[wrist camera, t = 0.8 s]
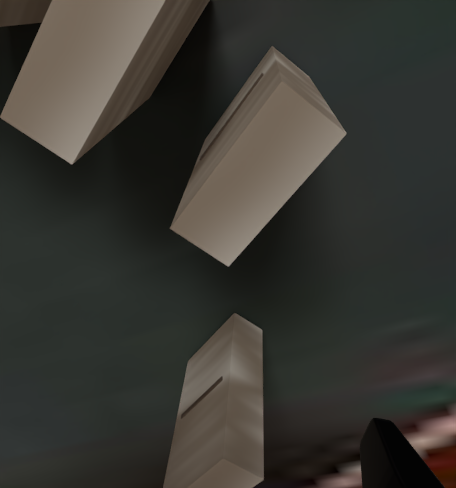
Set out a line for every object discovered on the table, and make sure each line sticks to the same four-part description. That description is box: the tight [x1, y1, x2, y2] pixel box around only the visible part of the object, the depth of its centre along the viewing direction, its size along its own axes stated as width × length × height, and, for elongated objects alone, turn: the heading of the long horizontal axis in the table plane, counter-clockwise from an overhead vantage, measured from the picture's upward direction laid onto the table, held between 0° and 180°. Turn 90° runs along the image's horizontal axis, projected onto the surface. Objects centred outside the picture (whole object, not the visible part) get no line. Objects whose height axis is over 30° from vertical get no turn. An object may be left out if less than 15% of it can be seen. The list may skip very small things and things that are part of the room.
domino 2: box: [170, 46, 347, 267], centre depth 15 cm, size 2×5×9 cm, turn 144°
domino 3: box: [163, 313, 264, 488], centre depth 22 cm, size 2×5×9 cm, turn 144°
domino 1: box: [0, 0, 209, 164], centre depth 14 cm, size 2×5×9 cm, turn 144°
